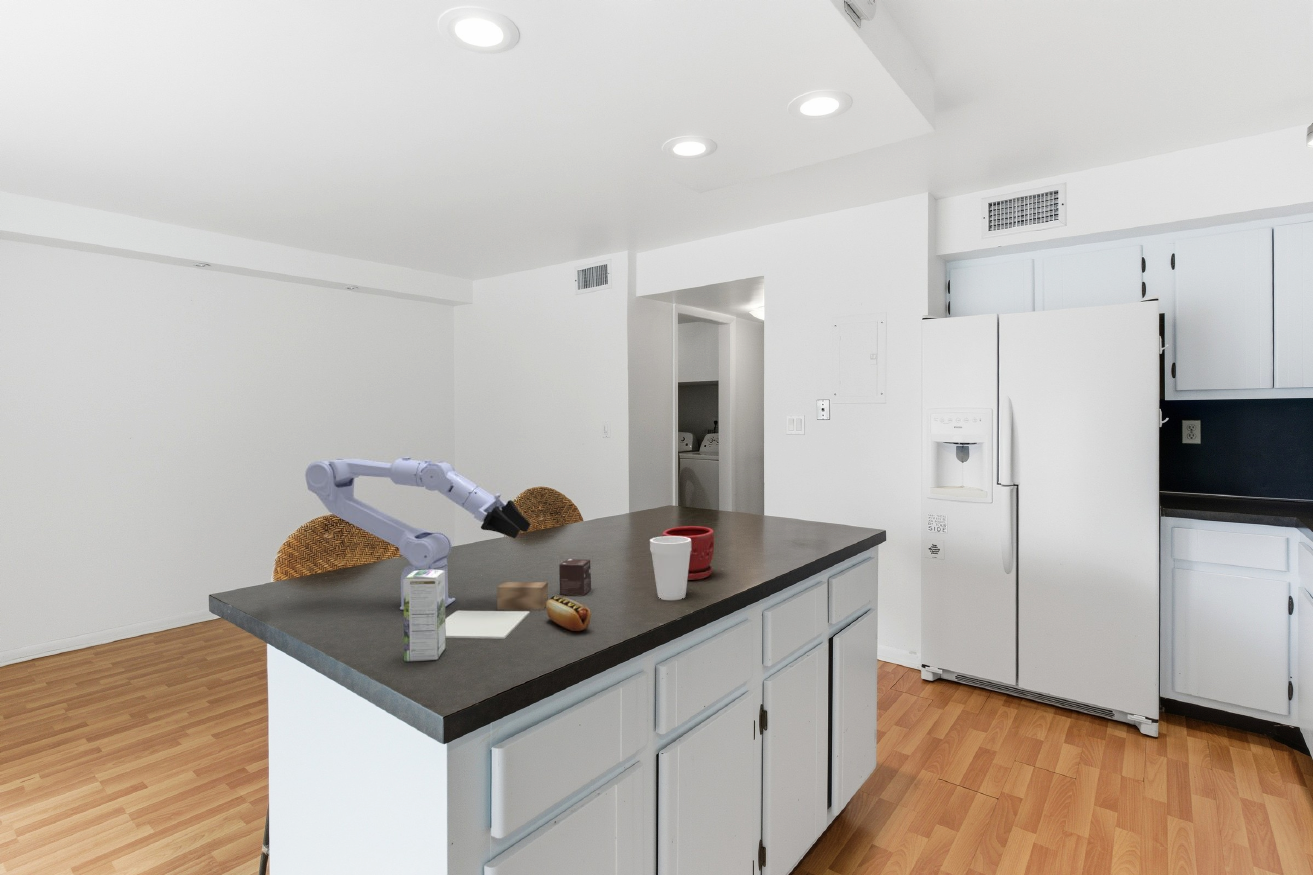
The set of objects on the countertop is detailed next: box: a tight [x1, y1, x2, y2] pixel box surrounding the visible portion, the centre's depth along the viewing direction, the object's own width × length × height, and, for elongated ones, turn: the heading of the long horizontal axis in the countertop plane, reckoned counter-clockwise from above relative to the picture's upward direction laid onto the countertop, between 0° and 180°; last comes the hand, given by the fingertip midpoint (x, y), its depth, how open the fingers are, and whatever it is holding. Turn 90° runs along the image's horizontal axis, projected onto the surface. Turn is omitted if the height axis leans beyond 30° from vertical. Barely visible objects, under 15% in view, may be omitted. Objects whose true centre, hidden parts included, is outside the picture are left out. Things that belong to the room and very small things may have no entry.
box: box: [558, 558, 592, 597], centre depth 154 cm, size 6×6×7 cm
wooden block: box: [496, 581, 549, 611], centre depth 143 cm, size 10×4×5 cm, turn 84°
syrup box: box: [403, 570, 447, 662], centre depth 114 cm, size 6×6×14 cm
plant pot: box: [662, 525, 715, 581], centre depth 167 cm, size 13×13×12 cm
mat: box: [445, 610, 531, 640], centre depth 131 cm, size 16×16×1 cm
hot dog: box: [545, 595, 592, 632], centre depth 129 cm, size 5×13×5 cm, turn 36°
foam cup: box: [649, 536, 691, 601], centre depth 149 cm, size 10×9×13 cm
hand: (523, 531), depth 143 cm, fingers open, 7 cm apart
